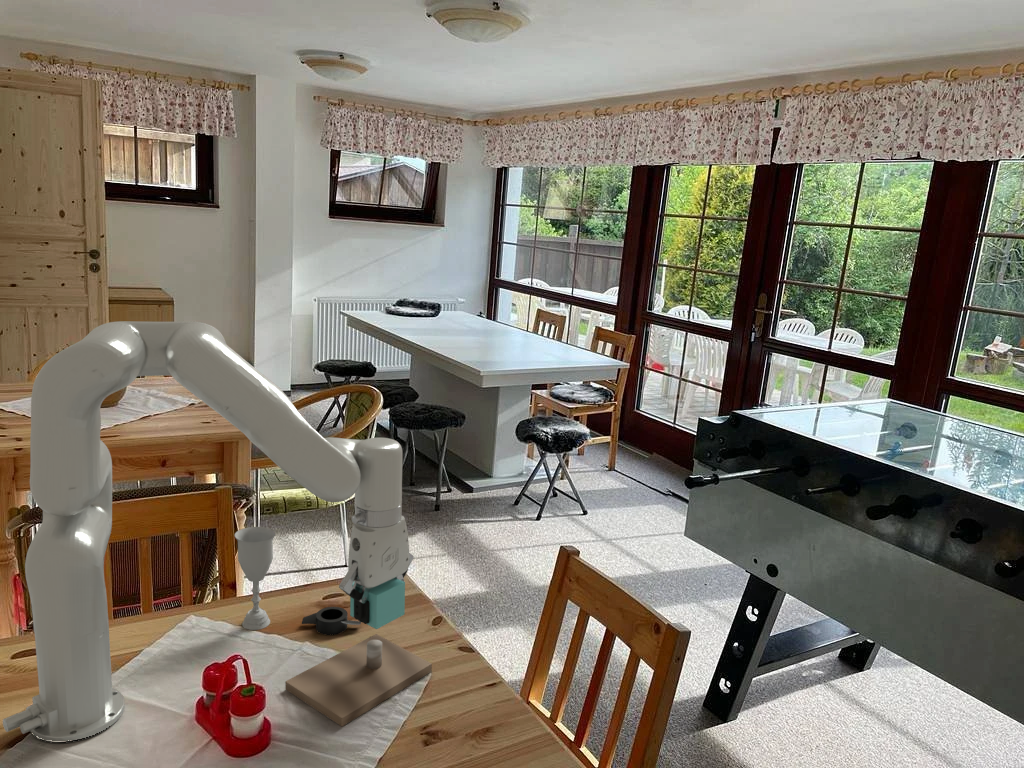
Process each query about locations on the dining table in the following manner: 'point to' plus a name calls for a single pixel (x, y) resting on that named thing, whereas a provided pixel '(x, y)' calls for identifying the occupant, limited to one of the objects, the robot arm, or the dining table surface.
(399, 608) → the turquoise rounded cube
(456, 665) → the dining table surface
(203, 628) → the dining table surface
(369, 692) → the stub board
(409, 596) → the dining table surface
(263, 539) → the chalice
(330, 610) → the dark grey ring piece
